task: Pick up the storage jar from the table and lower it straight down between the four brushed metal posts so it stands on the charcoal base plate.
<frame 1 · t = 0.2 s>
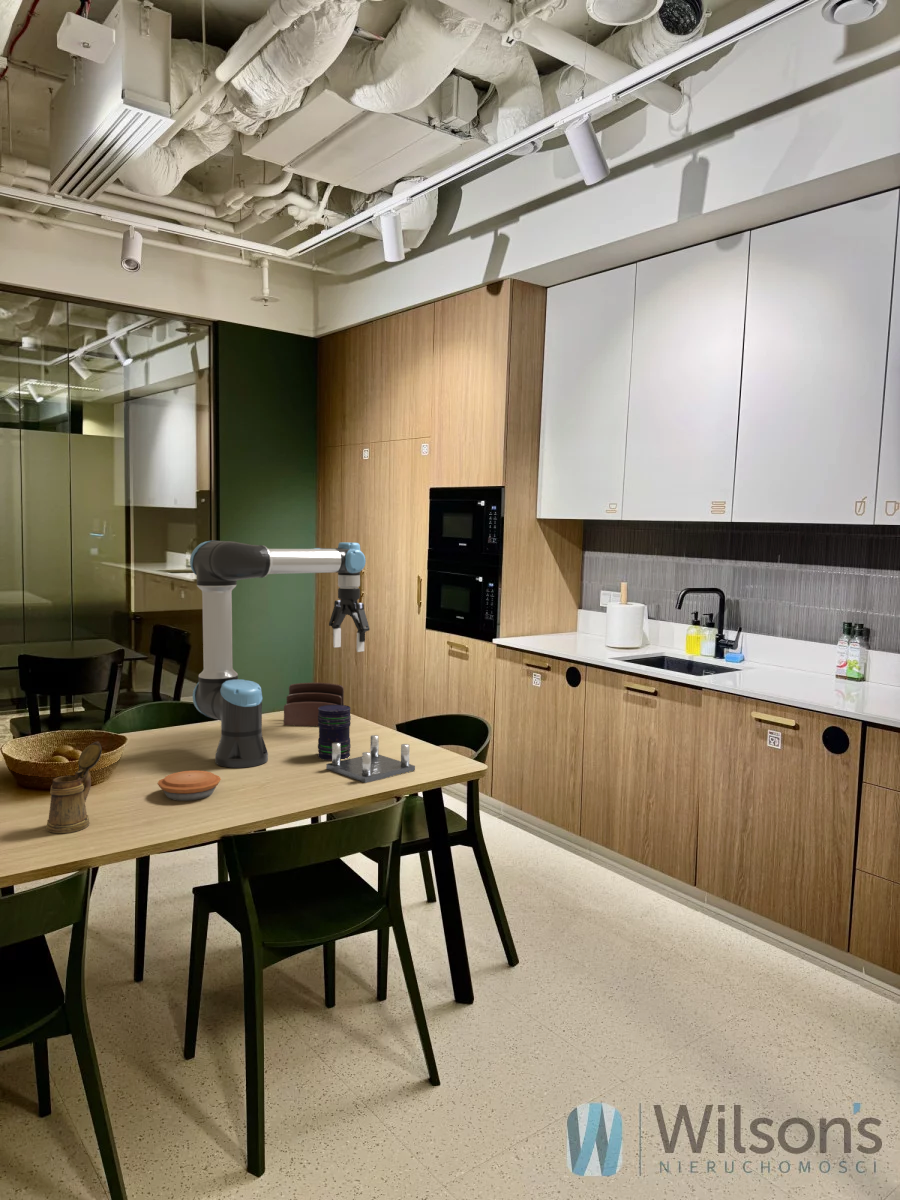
hand: (348, 649, 292), 28 cm above the table, tool pointing down, fingers open, 13 cm apart
letter holder: (314, 724, 302), on the table
storage jar: (334, 756, 258), on the table
wooden mug: (76, 824, 196), on the table
post base: (370, 769, 244), on the table
pie: (189, 795, 219), on the table
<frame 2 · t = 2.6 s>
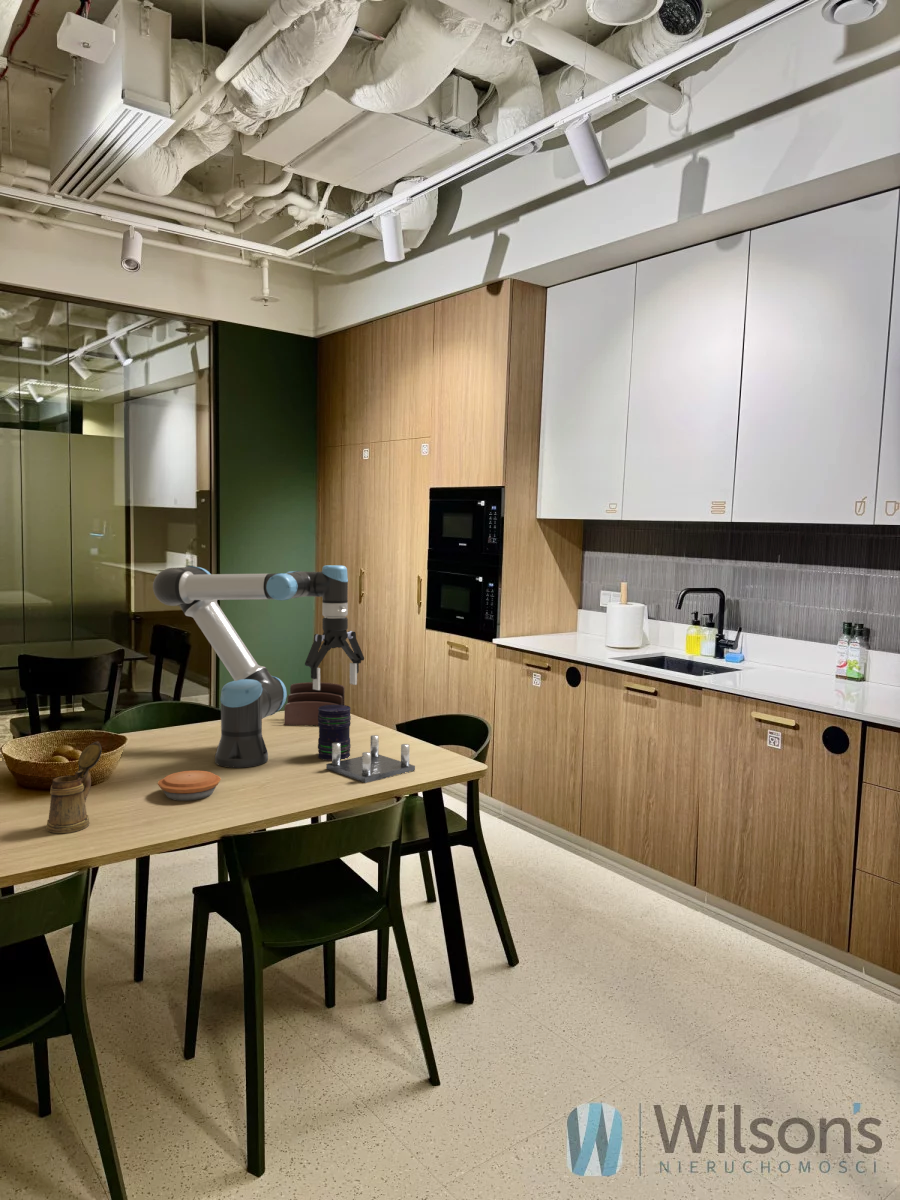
hand: (335, 687, 256), 21 cm above the table, tool pointing down, fingers open, 13 cm apart
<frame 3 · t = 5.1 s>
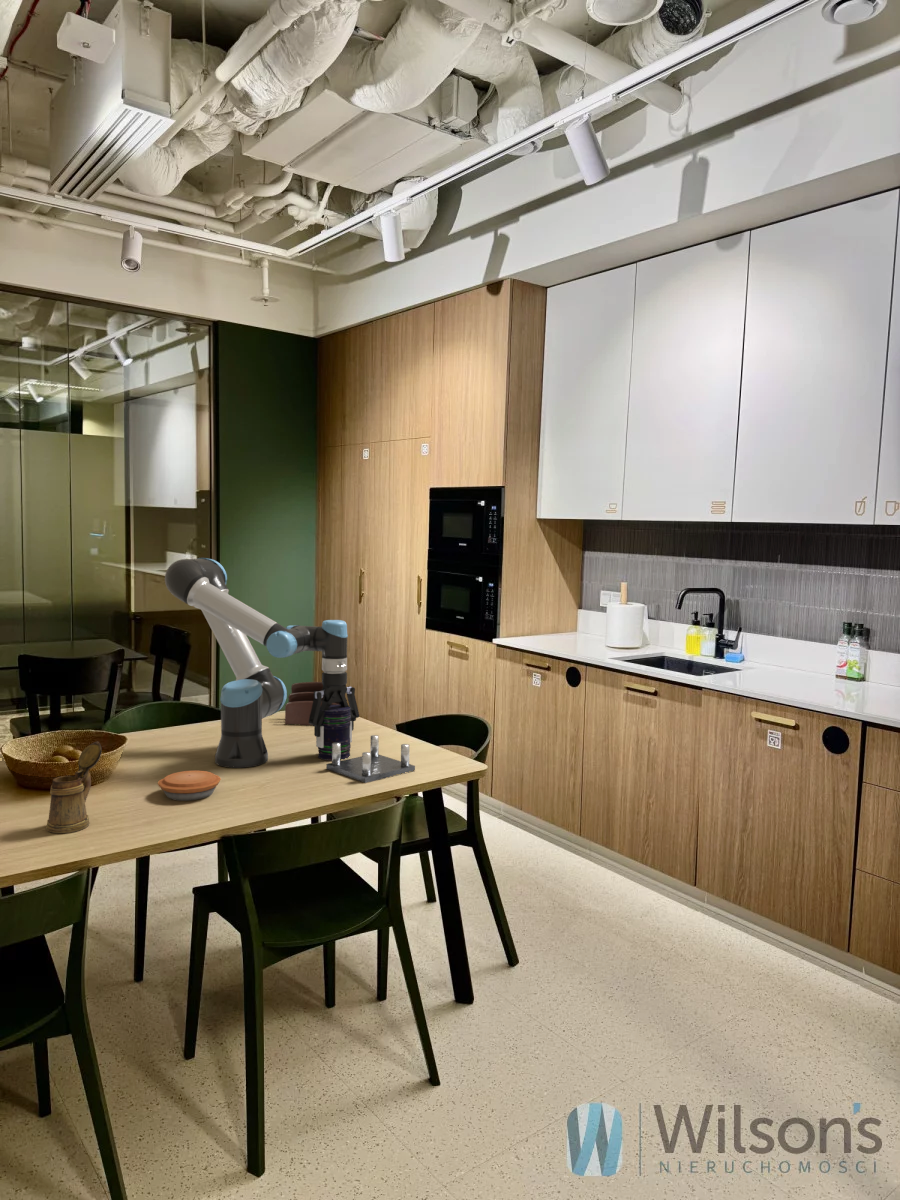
hand: (334, 744, 258), 4 cm above the table, tool pointing down, fingers closed on storage jar, 10 cm apart
storage jar: (334, 756, 258), on the table, touching gripper
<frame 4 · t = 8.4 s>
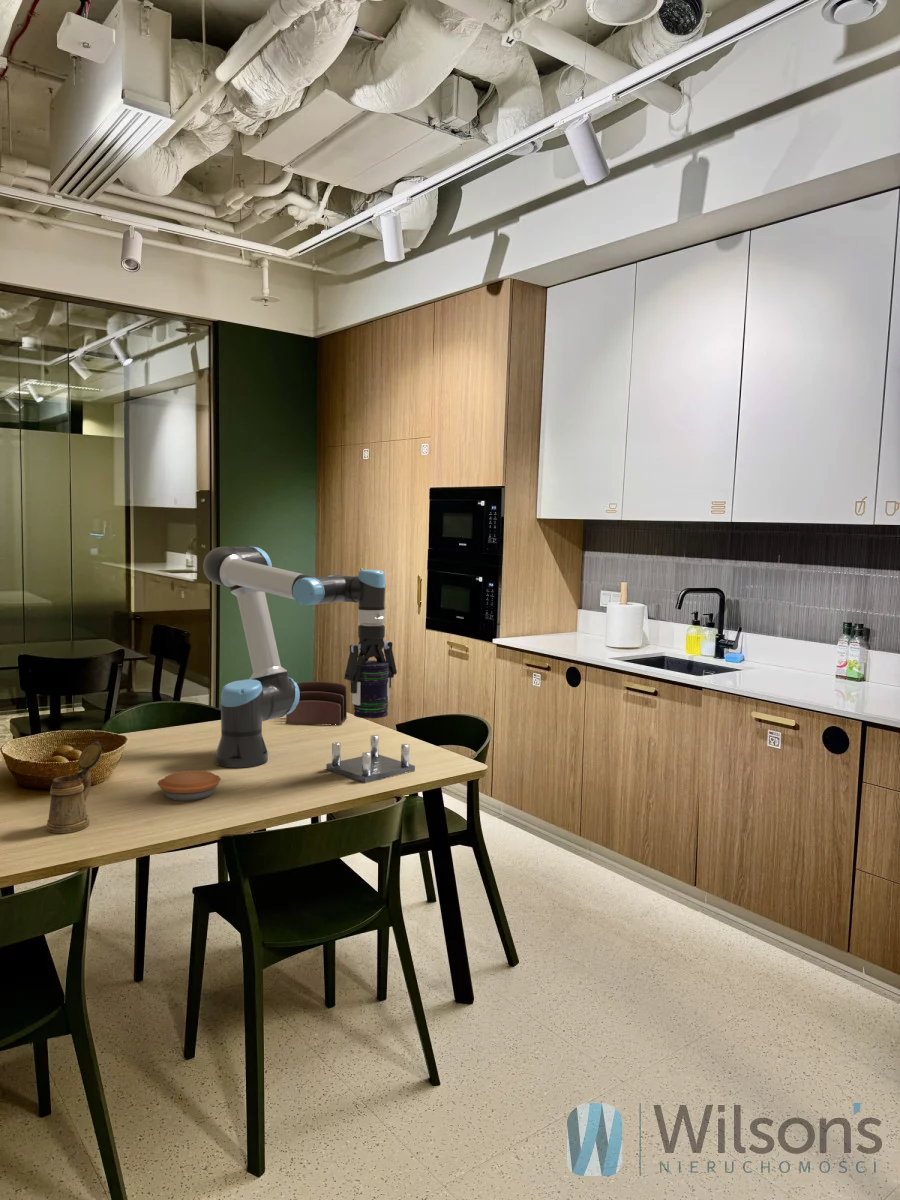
hand: (370, 702, 242), 20 cm above the table, tool pointing down, fingers closed on storage jar, 10 cm apart
storage jar: (370, 715, 242), point 16 cm above the table, touching gripper
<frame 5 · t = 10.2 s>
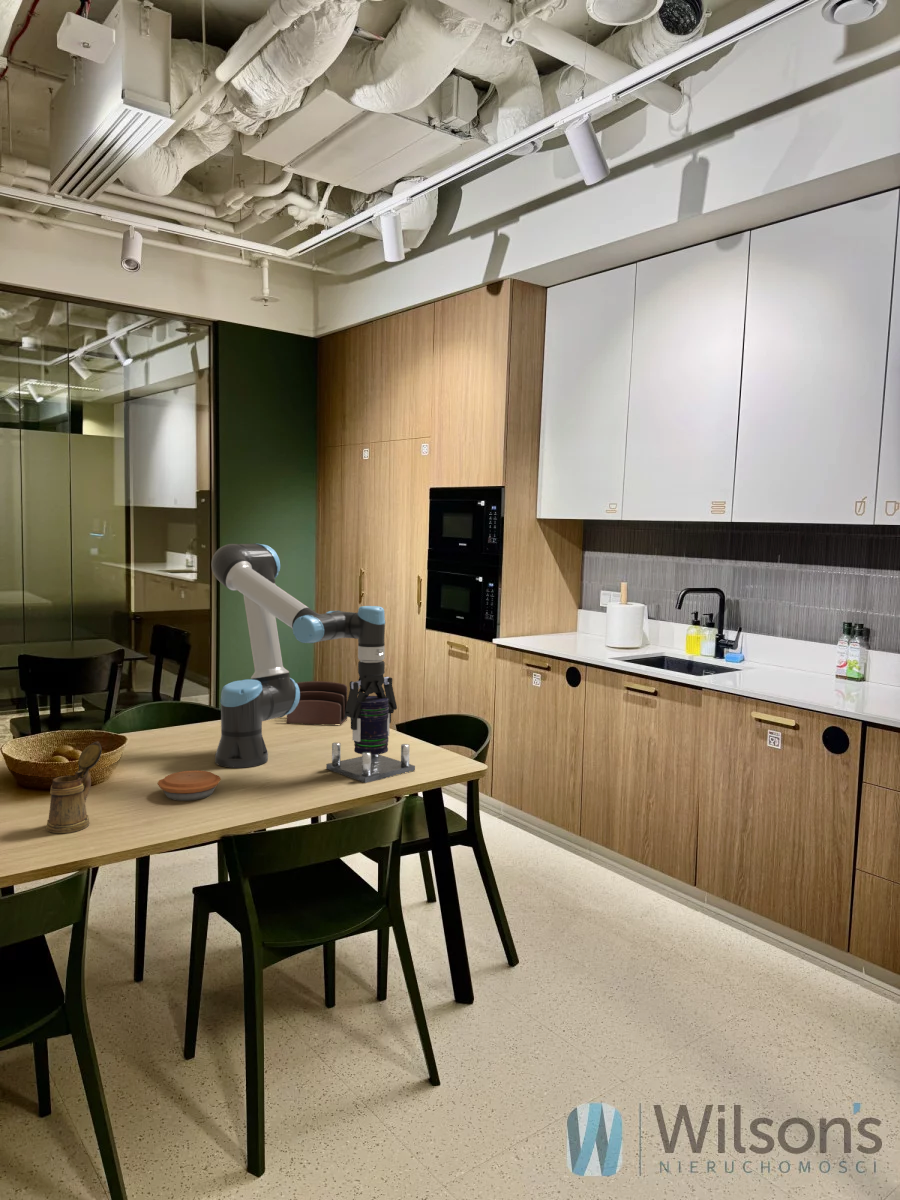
hand: (371, 737, 243), 9 cm above the table, tool pointing down, fingers closed on storage jar, 10 cm apart
storage jar: (371, 751, 243), point 5 cm above the table, touching gripper
when the fingers open (7 cm above the table, at t = 11.8 s): storage jar drops 1 cm, resting on post base.
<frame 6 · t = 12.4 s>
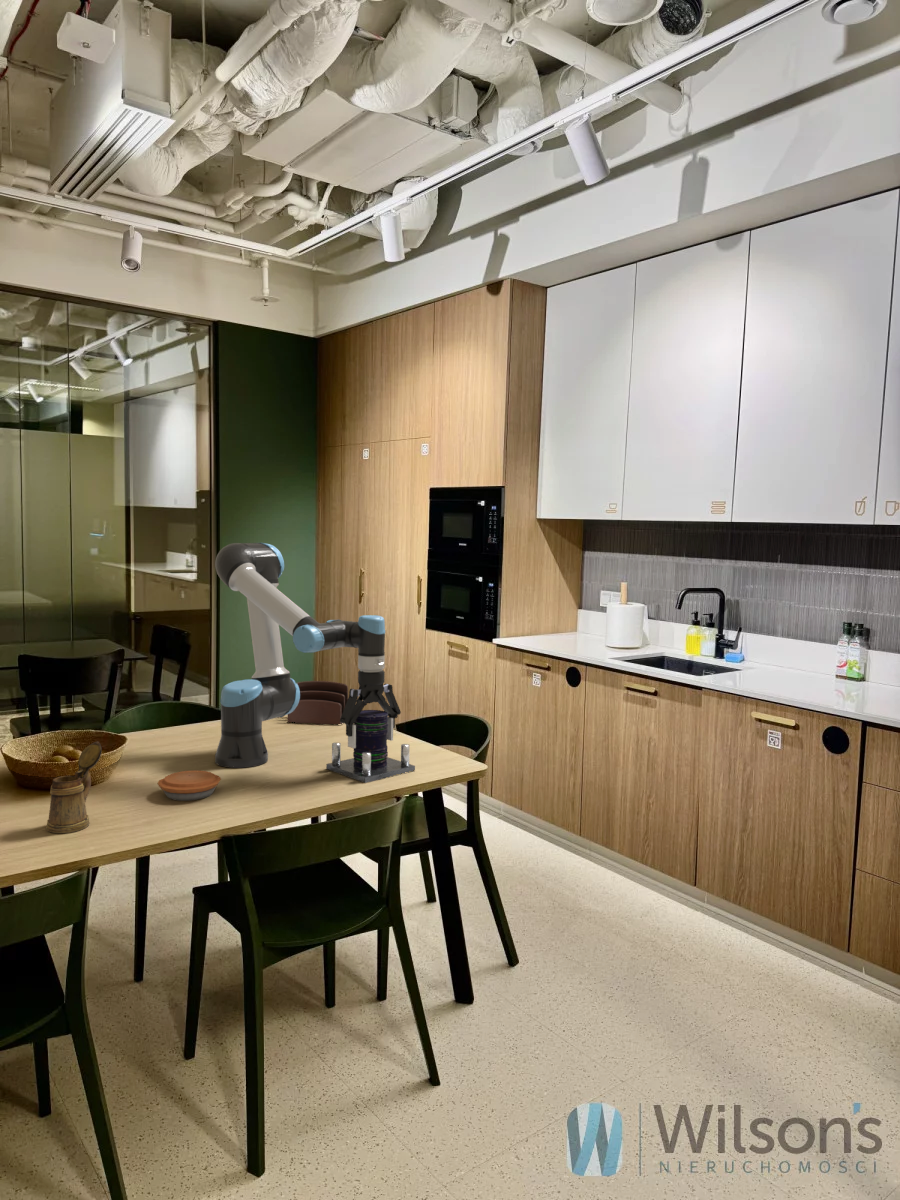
hand: (370, 743, 243), 8 cm above the table, tool pointing down, fingers open, 13 cm apart
storage jar: (370, 765, 244), point 1 cm above the table, touching post base
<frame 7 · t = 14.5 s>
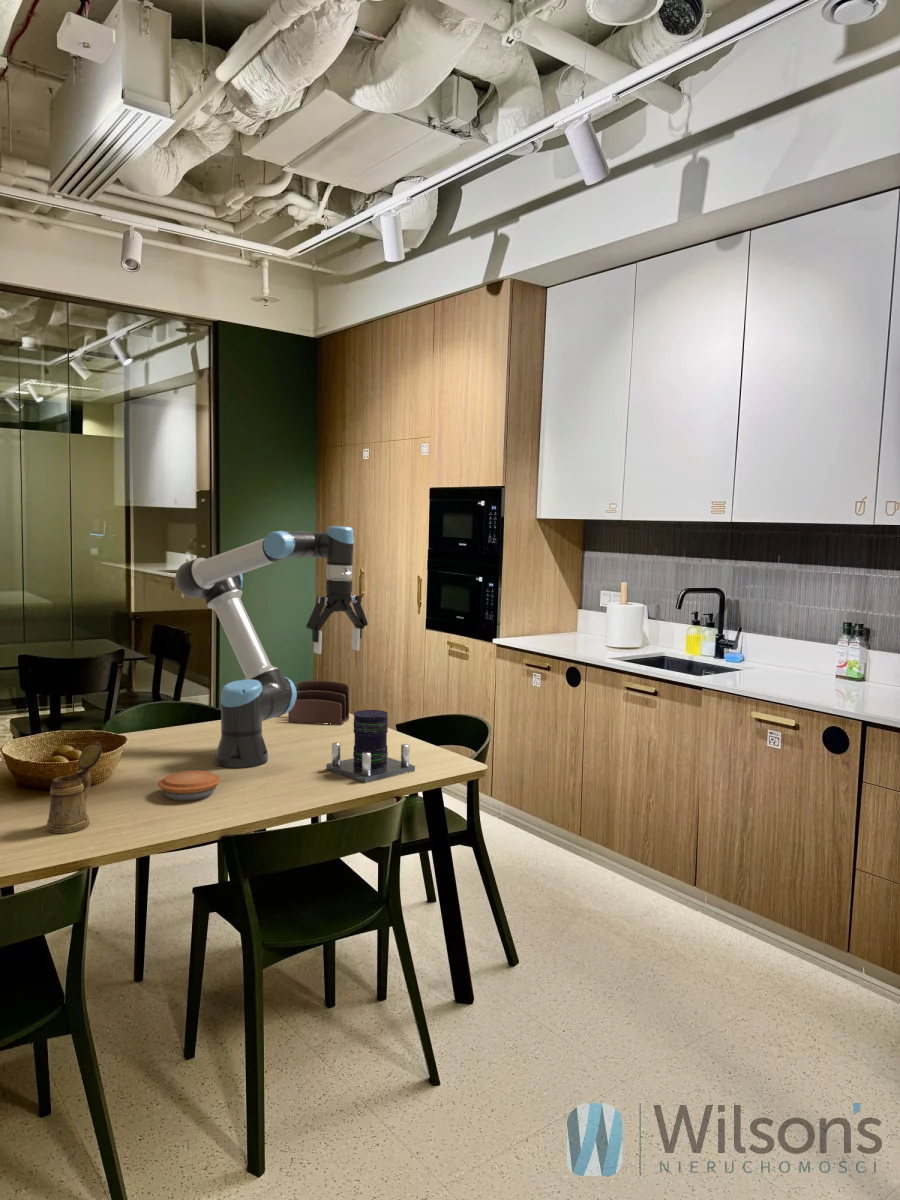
hand: (336, 651, 249), 33 cm above the table, tool pointing down, fingers open, 13 cm apart
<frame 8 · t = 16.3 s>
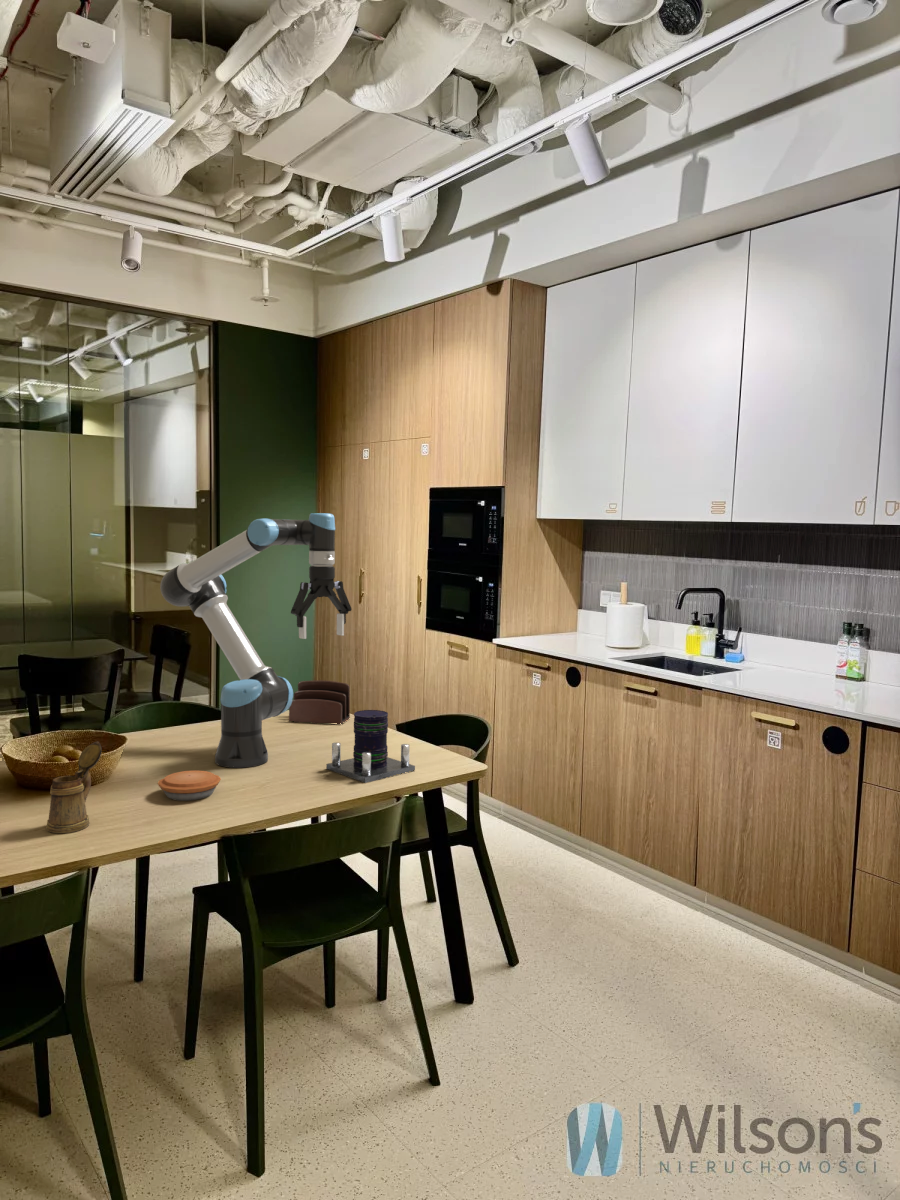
hand: (321, 636, 253), 37 cm above the table, tool pointing down, fingers open, 13 cm apart
at the end: storage jar 0.0 cm off-centre on the post base, point 1.3 cm above the post base's base; storage jar tilted 0°; the gripper is holding nothing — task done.
